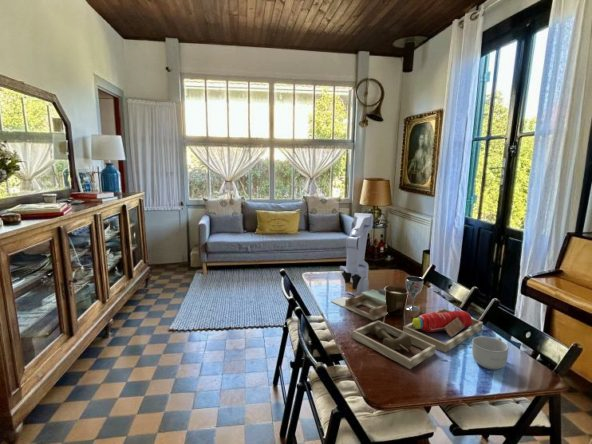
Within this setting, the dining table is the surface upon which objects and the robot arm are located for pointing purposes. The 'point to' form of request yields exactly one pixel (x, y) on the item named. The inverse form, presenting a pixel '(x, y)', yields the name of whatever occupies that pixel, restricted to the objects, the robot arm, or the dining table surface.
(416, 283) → the wine glass
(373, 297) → the slide cover
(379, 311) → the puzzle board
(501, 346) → the teacup
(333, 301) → the mat
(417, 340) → the frame
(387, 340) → the kendama
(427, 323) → the water bottle
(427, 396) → the dining table surface
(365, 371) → the dining table surface
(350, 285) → the wooden block
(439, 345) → the bottle frame
